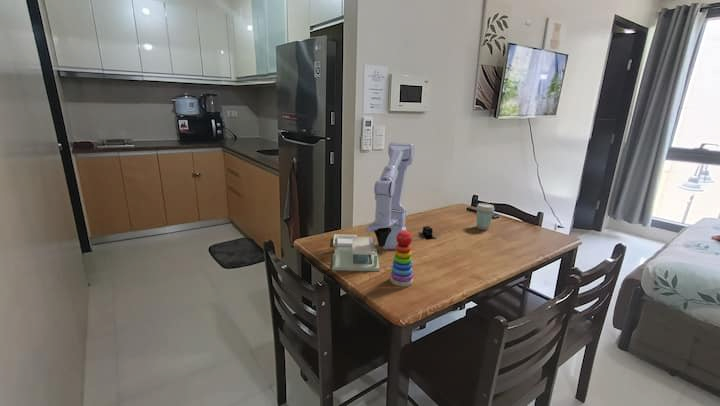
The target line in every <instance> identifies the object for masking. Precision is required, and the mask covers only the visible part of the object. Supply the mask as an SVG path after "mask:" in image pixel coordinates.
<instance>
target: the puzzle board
mask: <svg viewBox="0 0 720 406" xmlns="http://www.w3.org/2000/svg"><path fill="white" fill-rule="evenodd" d="M337 239H338V238H335V247H334V250H333V251H334V253H333V254H332V268H331V269H332V271H358V272H360V271H361V272H363V271H364V272H380V269H381V267H380V262H379V257H378V250H377V249H378V248H377V247H374V255H368V262H357V254H352V247H337ZM375 241H376V240H375V238H373V244H374V245H375Z"/></svg>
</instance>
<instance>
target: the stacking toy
mask: <svg viewBox="0 0 720 406" xmlns="http://www.w3.org/2000/svg"><path fill="white" fill-rule="evenodd" d="M396 239H397V242H398V244H397V245H396V249H395V252H394V256H393V261H392V266H391V273H390V277H389V281H390V283H391V284H392V285H394V286H397V287H401V288H403V287H409V286H411V285H412V284H413V283H414V272H413V262H412V261H413V257H412V255H413V253H412V246H411V243H412V241H413V236H412V234H411V232H409V231H408V230H406V231H400V232H399V233H398V234H397V237H396Z"/></svg>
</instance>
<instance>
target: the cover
mask: <svg viewBox="0 0 720 406" xmlns="http://www.w3.org/2000/svg"><path fill="white" fill-rule="evenodd" d="M373 239H374V238H373V236H357V237H352V254H366V255H374V248H375V244H373Z"/></svg>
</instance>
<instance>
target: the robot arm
mask: <svg viewBox="0 0 720 406" xmlns="http://www.w3.org/2000/svg"><path fill="white" fill-rule="evenodd" d="M387 148H388V149H387V153H388V157H389V160H388V161H389V162H388V165H386V166H384V167H383V170H382V173H381V175H380V178H379V179H378V180H376V181H375V184H374V188H373V189H374V190H373V191H374V199H375V211H374V212H375V214H374V215H375V216H374V217H375V218H374V220H373V222H372V223H370V224H369V225H368V224H367V225H366V227H365V229H366V230H365V231H366V232H368V233H372V232H374V234H375V236H376V240H377V243H378V244H377V246H378V247H381V248H382V249H384V250H397V249H396V245H397V244H398V242H397V239H396V237H397V234H398V233H399V232H400V231H407V228H406V227H407V226H405V225H406V220H407V210H406V208H405V206H403V205H402V204H401V203H402V198H403V192H404V185H405V179H406V172H407V170H408V167H409V166H410V165H412V164H413V159H414V155H415V154H414V153H415V145H414V144H413V142H411V143H410V142H396V141H394V142H393V141H391V142H389V144H388V147H387Z"/></svg>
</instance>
